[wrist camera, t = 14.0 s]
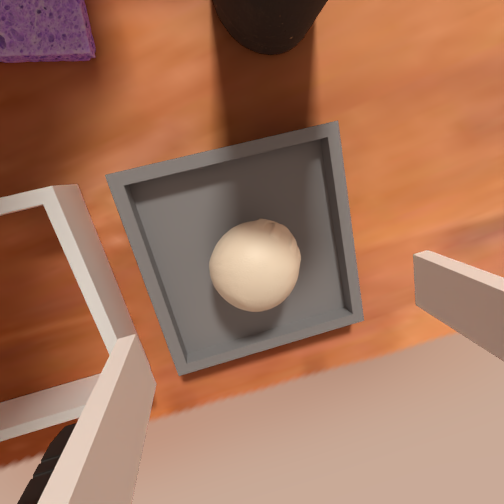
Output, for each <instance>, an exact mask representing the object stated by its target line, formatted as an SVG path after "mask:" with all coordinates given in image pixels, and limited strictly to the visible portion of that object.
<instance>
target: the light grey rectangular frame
mask: <svg viewBox="0 0 504 504" xmlns="http://www.w3.org/2000/svg"><path fill="white" fill-rule="evenodd" d="M39 206H44V208H45V210H46V212H47V214H48V217H49V219H50V221H51V223H52V226H53V228H54V230H55V233H56V235H57V237H58V239H59V242H60V244H61V246H62V248H63V251H64V253H65V255H66V257H67V260H68V262H69V264H70V266H71V269H72V271H73V273H74V275H75V278H76V280H77V282H78V285H79V287H80V289H81V291H82V294H83V296H84V298H85V300H86V303H87V305H88V307H89V309H90V312H91V314H92V316H93V318H94V321H95V323H96V325H97V327H98V330H99V332H100V334H101V337H102V339H103V341H104V343H105V346H106V348H107V350H108V352H109V355H110V354H111V352H112V350H113V348H114V346H115V344H116V342H117V340H118V339H119V338H123V337H126V336H130V335H133V334H136V336H137V338H138V340H139V343H140V345H141V348H142V350H143V353H144V355H145V357H146V354H145V352H144V349H143V347H142V344H141V342H140V339H139V337H138V334H137V332H136V329H135V327H134V324H133V322H132V319H131V317H130V314H129V312H128V309H127V307H126V304H125V302H124V299H123V297H122V294H121V292H120V289H119V287H118V284H117V282H116V279H115V277H114V274H113V272H112V269H111V267H110V264H109V262H108V259H107V257H106V254H105V252H104V249H103V247H102V244H101V242H100V239H99V237H98V234H97V232H96V229H95V227H94V224H93V222H92V219H91V217H90V214H89V212H88V209H87V206H86V204H85V201H84V199H83V196H82V194H81V191H80V189H79V186H78V184H69V185H55V186H48V187H44V188H40V189H36V190H31V191H27V192H23V193H18V194H14V195H10V196H6V197H1V198H0V216H2V215H6V214H10V213H14V212H18V211H23V210H27V209H31V208H35V207H39ZM146 360H147V362H148V359H147V357H146ZM148 365H149V367H150V364H149V362H148ZM150 369H151V367H150ZM100 374H101V373H100ZM100 374H97V375H93V376H90V377H86V378H83V379H79V380H76V381H73V382H69V383H66V384H62V385H59V386H56V387H52V388H49V389H45V390H42V391H38V392H35V393H32V394H28V395H25V396H21V397H18V398H14V399H11V400H8V401H4V402H1V403H0V442H1V441H4V440H7V439H10V438H14V437H17V436H20V435H24V434H27V433H30V432H34V431H37V430H40V429H43V428H47V427H50V426H53V425H57V424H60V423H63V422H66V421H70V420H73V419H76V418H79V417H80V415H81V413H82V411H83V409H84V407H85V405H86V403H87V401H88V399H89V397H90V395H91V393H92V391H93V389H94V387H95V385H96V383H97V381H98V379H99V377H100Z"/></svg>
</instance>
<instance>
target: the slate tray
mask: <svg viewBox="0 0 504 504" xmlns="http://www.w3.org/2000/svg"><path fill="white" fill-rule="evenodd" d="M105 177H106V179H107V182H108V185H109V188H110V190H111V193H112V196H113V199H114V201H115V204H116V207H117V209H118V212H119V215H120V218H121V220H122V223H123V226H124V228H125V231H126V234H127V237H128V239H129V242H130V245H131V247H132V250H133V253H134V256H135V258H136V261H137V264H138V266H139V269H140V272H141V275H142V277H143V280H144V283H145V285H146V288H147V291H148V294H149V296H150V299H151V302H152V304H153V307H154V310H155V313H156V315H157V318H158V321H159V323H160V326H161V329H162V332H163V334H164V337H165V340H166V342H167V345H168V348H169V351H170V353H171V356H172V359H173V361H174V364H175V367H176V370H177V372H178V375H179V376H181V375H184V374H187V373H191V372H194V371H197V370H201V369H204V368H207V367H211V366H214V365H217V364H221V363H224V362H227V361H231V360H234V359H237V358H241V357H244V356H247V355H251V354H254V353H257V352H261V351H264V350H267V349H271V348H274V347H277V346H281V345H284V344H287V343H291V342H294V341H297V340H301V339H304V338H307V337H311V336H314V335H317V334H321V333H324V332H327V331H331V330H334V329H337V328H341V327H344V326H347V325H351V324H354V323H357V322H361V321H364V316H363V309H362V301H361V293H360V286H359V278H358V270H357V263H356V255H355V247H354V239H353V232H352V224H351V216H350V209H349V201H348V193H347V186H346V178H345V170H344V163H343V155H342V147H341V139H340V132H339V124H338V121H334V122H330V123H326V124H321V125H317V126H313V127H308V128H304V129H300V130H296V131H291V132H287V133H283V134H278V135H274V136H270V137H266V138H261V139H257V140H253V141H249V142H244V143H240V144H236V145H231V146H227V147H223V148H219V149H214V150H210V151H206V152H201V153H197V154H193V155H189V156H184V157H180V158H176V159H171V160H167V161H163V162H159V163H154V164H150V165H146V166H141V167H137V168H133V169H129V170H124V171H120V172H116V173H112V174H107V175H105ZM259 219H267V220H271V221H274V222H277V223H279V224H282V225H284V226H286V227H287V228H288V229H289V231H290V232H291V234H292V235H293V236H294V238H295V240H296V242H297V246H298V248H299V250H300V254H301V262H300V268H299V275H298V279H297V282H296V284H295V286H294V288H293V290H292V292H291V293H290V295H289V296H288V297H287V298H286V299H285V300H284V301H283V302H282V303H280V304H279V305H277V306H276V307H274V308H271V309H268V310H265V311H261V312H250V311H246V310H242V309H239V308H236V307H235V306H233V305H231V304H230V303H228V302H227V301H226V300H225V299H224V298H223V297H221V295H220V294H219V293H218V291H217V290H216V289H215V287H214V285H213V282H212V280H211V277H210V270H209V261H210V258H211V255H212V253H213V250H214V248H215V246H216V244H217V243H218V241H219V240H220V239H221V238H222V236H223V235H224V234H225V233H227V232H228V231H229V230H230V229H231V228H233V227H235V226H237V225H239V224H242V223H245V222H249V221H255V220H259Z"/></svg>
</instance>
